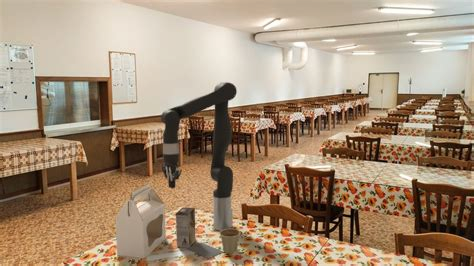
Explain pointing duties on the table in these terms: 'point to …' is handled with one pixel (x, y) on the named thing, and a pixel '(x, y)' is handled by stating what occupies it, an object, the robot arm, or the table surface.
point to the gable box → (140, 224)
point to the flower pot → (230, 240)
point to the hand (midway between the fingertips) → (172, 187)
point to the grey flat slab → (204, 250)
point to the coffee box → (185, 227)
